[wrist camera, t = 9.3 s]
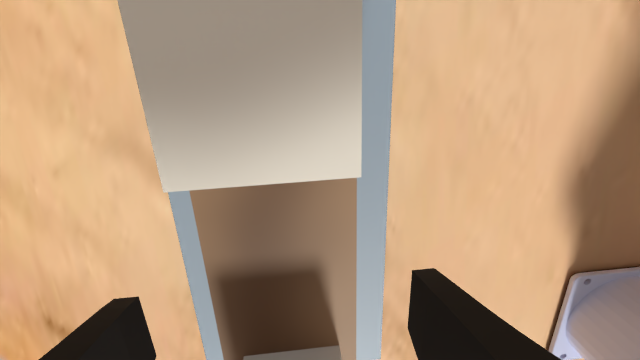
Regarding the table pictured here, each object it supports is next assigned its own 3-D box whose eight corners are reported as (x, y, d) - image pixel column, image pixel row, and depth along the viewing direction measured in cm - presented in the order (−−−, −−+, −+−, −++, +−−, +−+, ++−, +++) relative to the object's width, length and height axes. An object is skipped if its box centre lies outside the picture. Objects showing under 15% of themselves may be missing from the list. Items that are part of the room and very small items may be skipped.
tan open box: (330, -45, 12) (368, -118, 7) (339, 344, 19) (360, 459, 14) (188, -42, 12) (108, -117, 6) (251, 354, 19) (239, 476, 13)
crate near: (330, -11, 8) (362, -51, 5) (334, 132, 10) (361, 177, 6) (180, -7, 8) (106, -45, 5) (206, 140, 9) (163, 192, 6)
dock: (377, -66, 14) (399, -93, 12) (368, 320, 23) (380, 358, 20) (139, -63, 14) (102, -91, 11) (220, 337, 22) (210, 379, 19)
